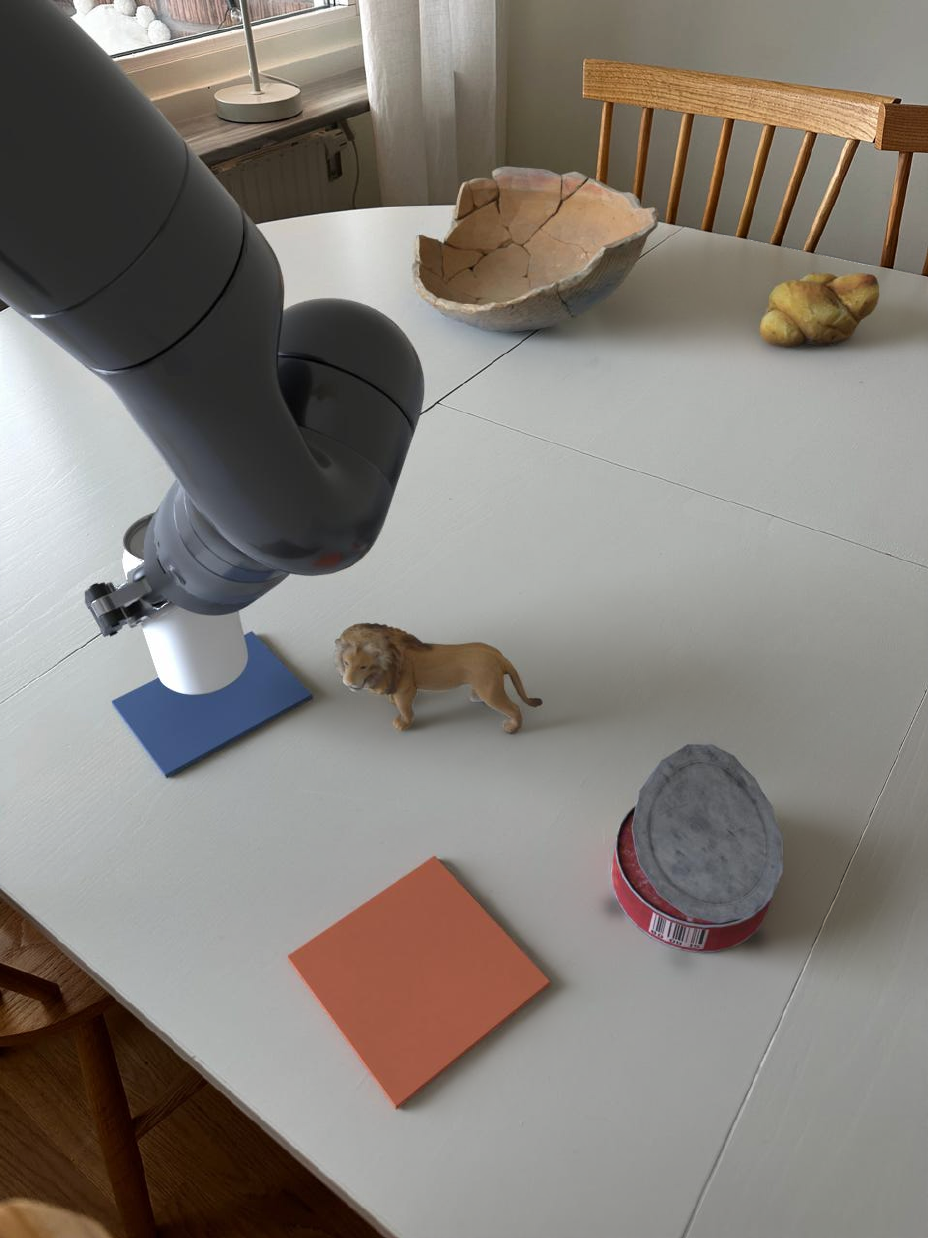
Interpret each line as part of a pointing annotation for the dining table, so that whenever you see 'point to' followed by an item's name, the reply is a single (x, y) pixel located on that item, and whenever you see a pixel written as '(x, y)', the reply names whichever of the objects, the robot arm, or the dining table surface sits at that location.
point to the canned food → (698, 852)
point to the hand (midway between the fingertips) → (175, 590)
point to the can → (189, 637)
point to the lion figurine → (425, 670)
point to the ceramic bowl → (531, 249)
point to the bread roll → (818, 309)
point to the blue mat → (210, 710)
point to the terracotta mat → (417, 978)
